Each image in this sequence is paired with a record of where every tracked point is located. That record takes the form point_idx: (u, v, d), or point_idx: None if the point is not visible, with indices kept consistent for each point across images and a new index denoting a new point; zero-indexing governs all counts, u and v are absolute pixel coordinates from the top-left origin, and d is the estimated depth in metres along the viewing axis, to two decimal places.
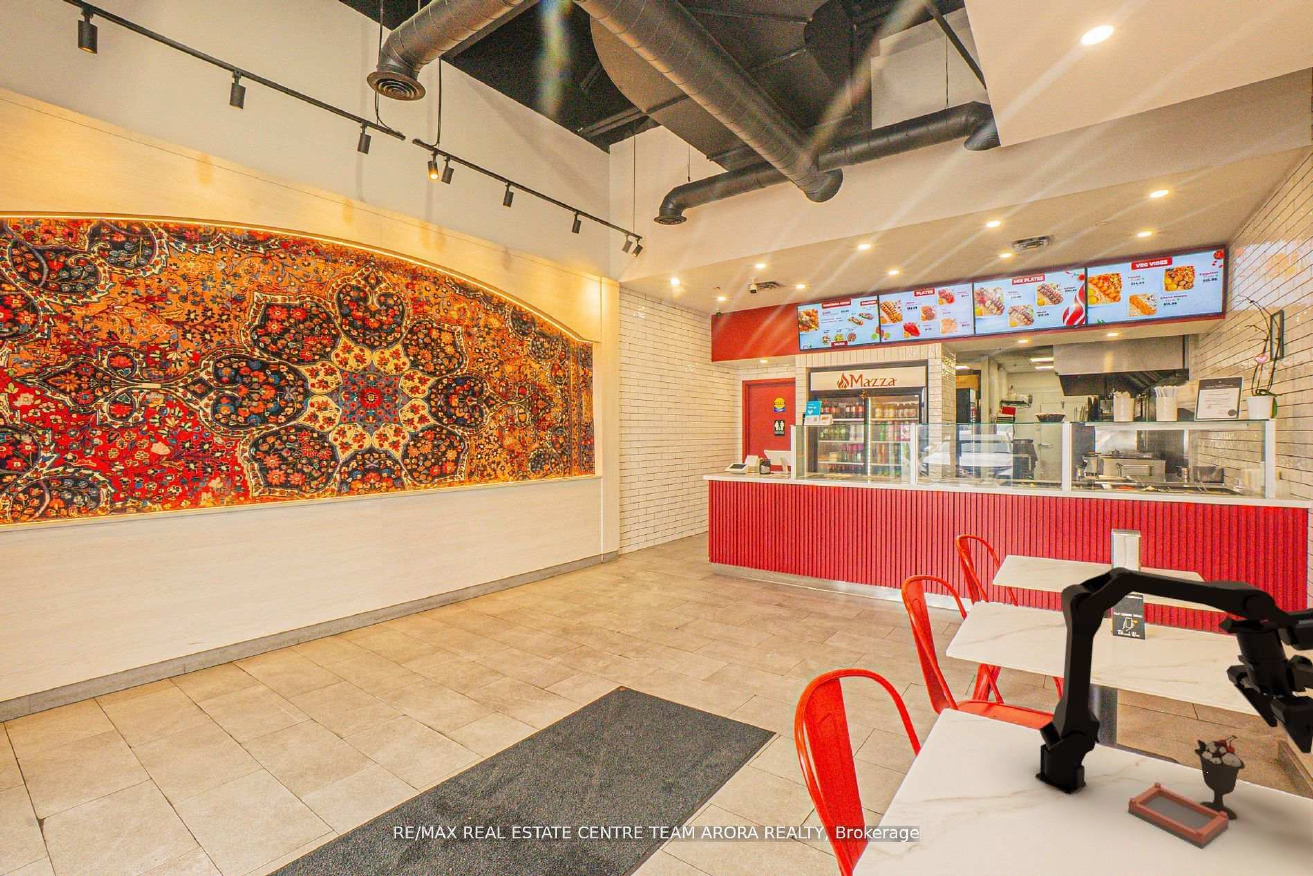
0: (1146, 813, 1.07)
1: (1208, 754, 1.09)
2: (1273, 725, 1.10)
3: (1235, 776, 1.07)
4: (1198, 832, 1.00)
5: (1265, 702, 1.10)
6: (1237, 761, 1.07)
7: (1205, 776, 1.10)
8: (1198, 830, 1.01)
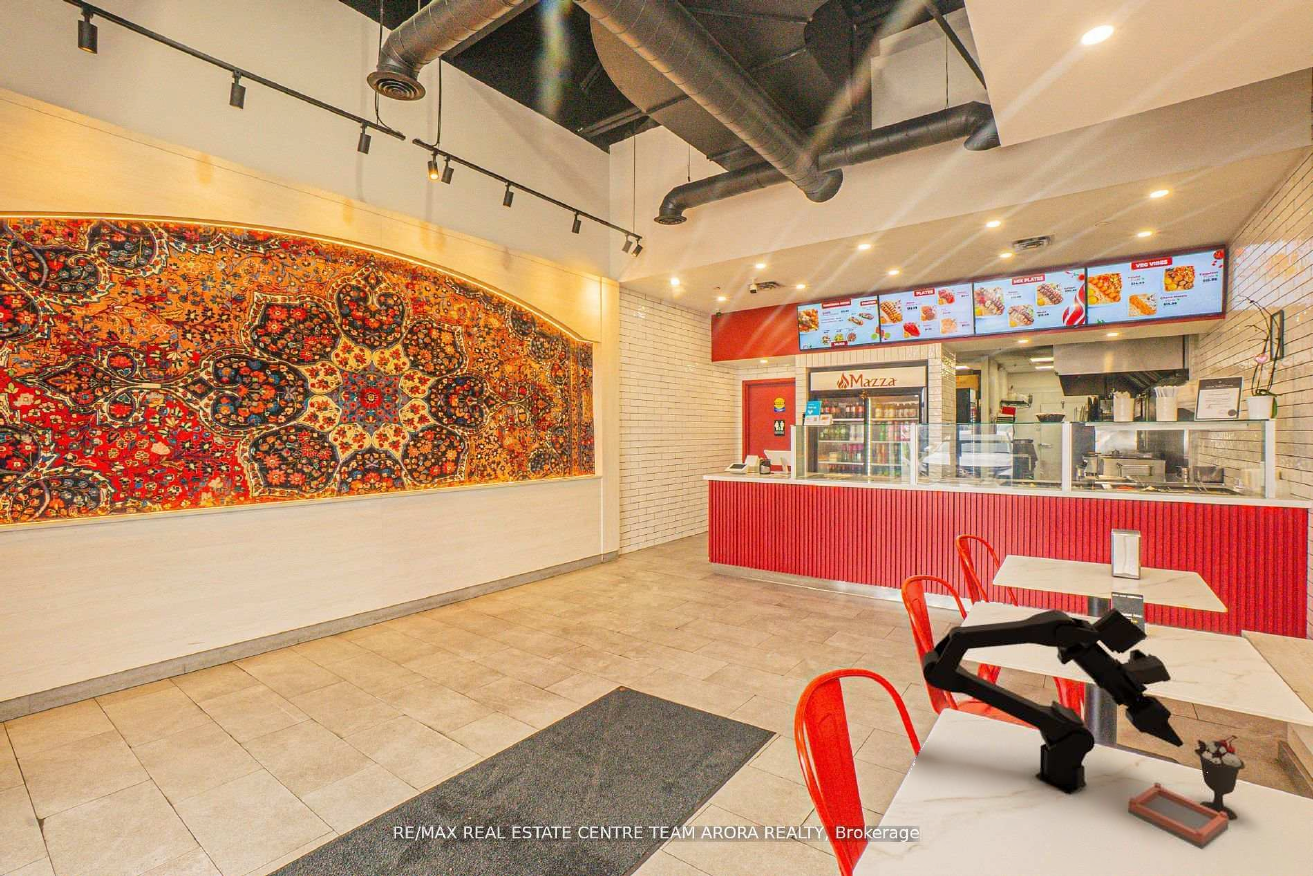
0: (1146, 813, 1.07)
1: (1208, 754, 1.09)
2: None
3: (1235, 776, 1.07)
4: (1198, 832, 1.00)
5: None
6: (1237, 761, 1.07)
7: (1205, 776, 1.10)
8: (1198, 830, 1.01)
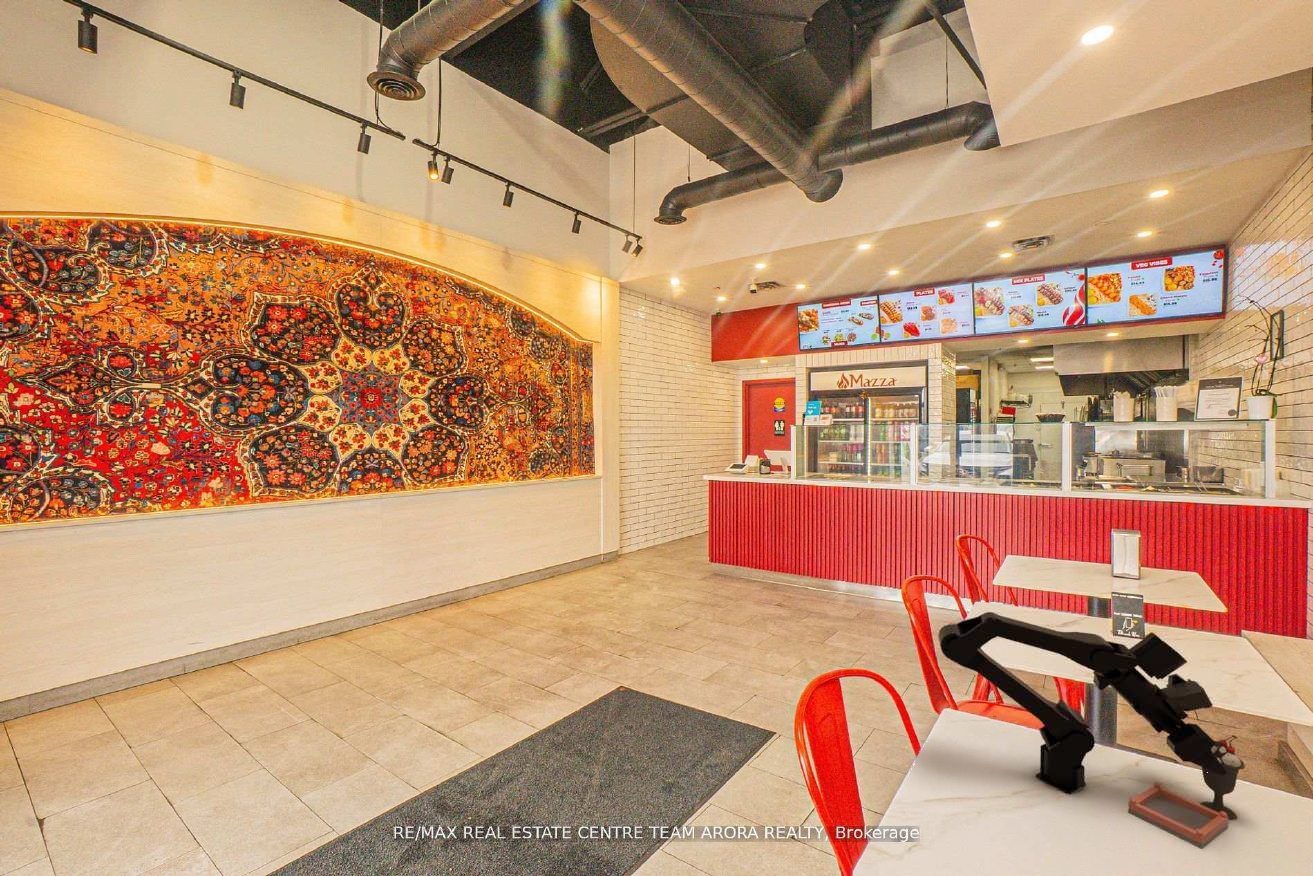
0: (1146, 813, 1.07)
1: None
2: None
3: (1235, 776, 1.07)
4: (1198, 832, 1.00)
5: None
6: (1237, 761, 1.07)
7: (1205, 776, 1.10)
8: (1198, 830, 1.01)
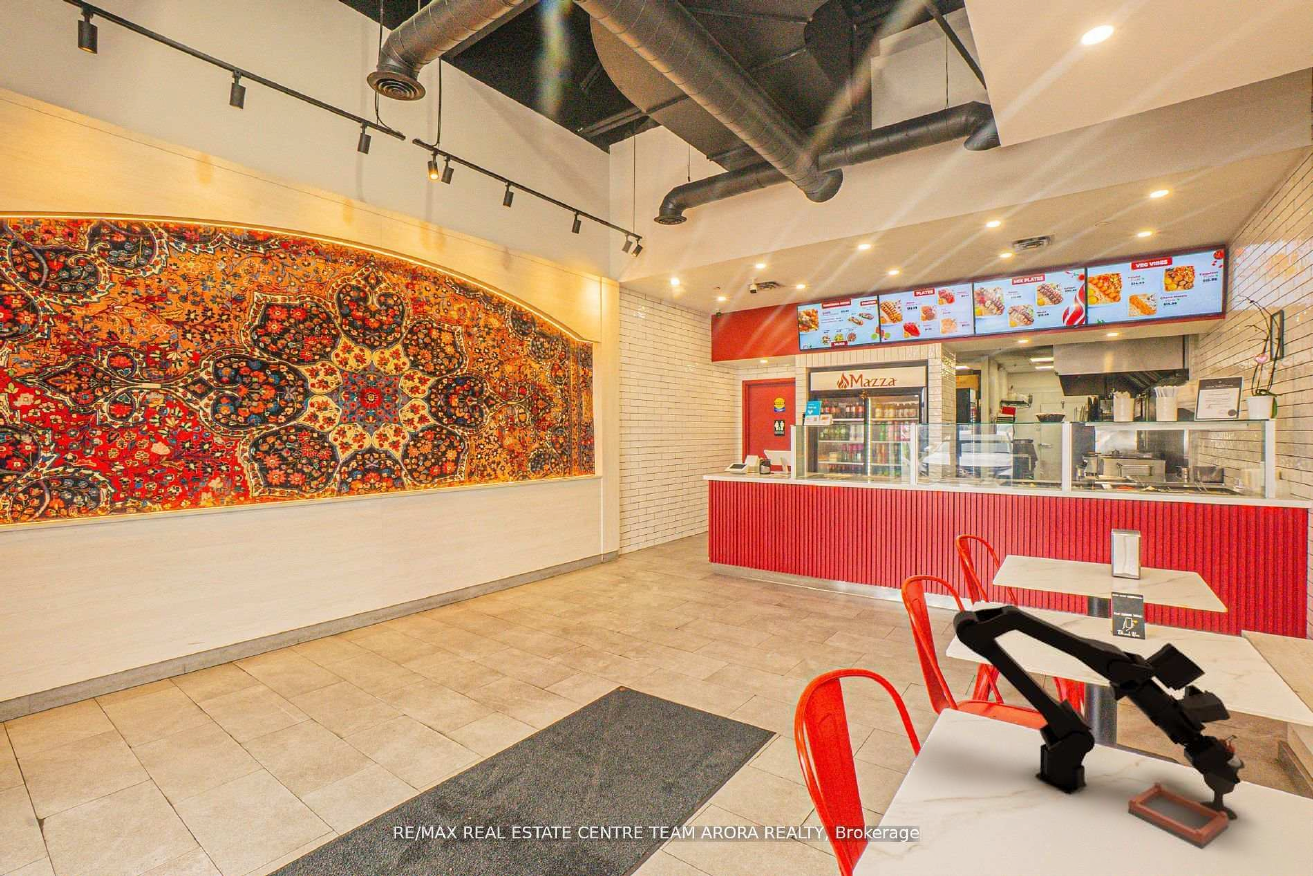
0: (1146, 813, 1.07)
1: None
2: None
3: None
4: (1198, 832, 1.00)
5: None
6: (1237, 761, 1.07)
7: (1205, 776, 1.10)
8: (1198, 830, 1.01)
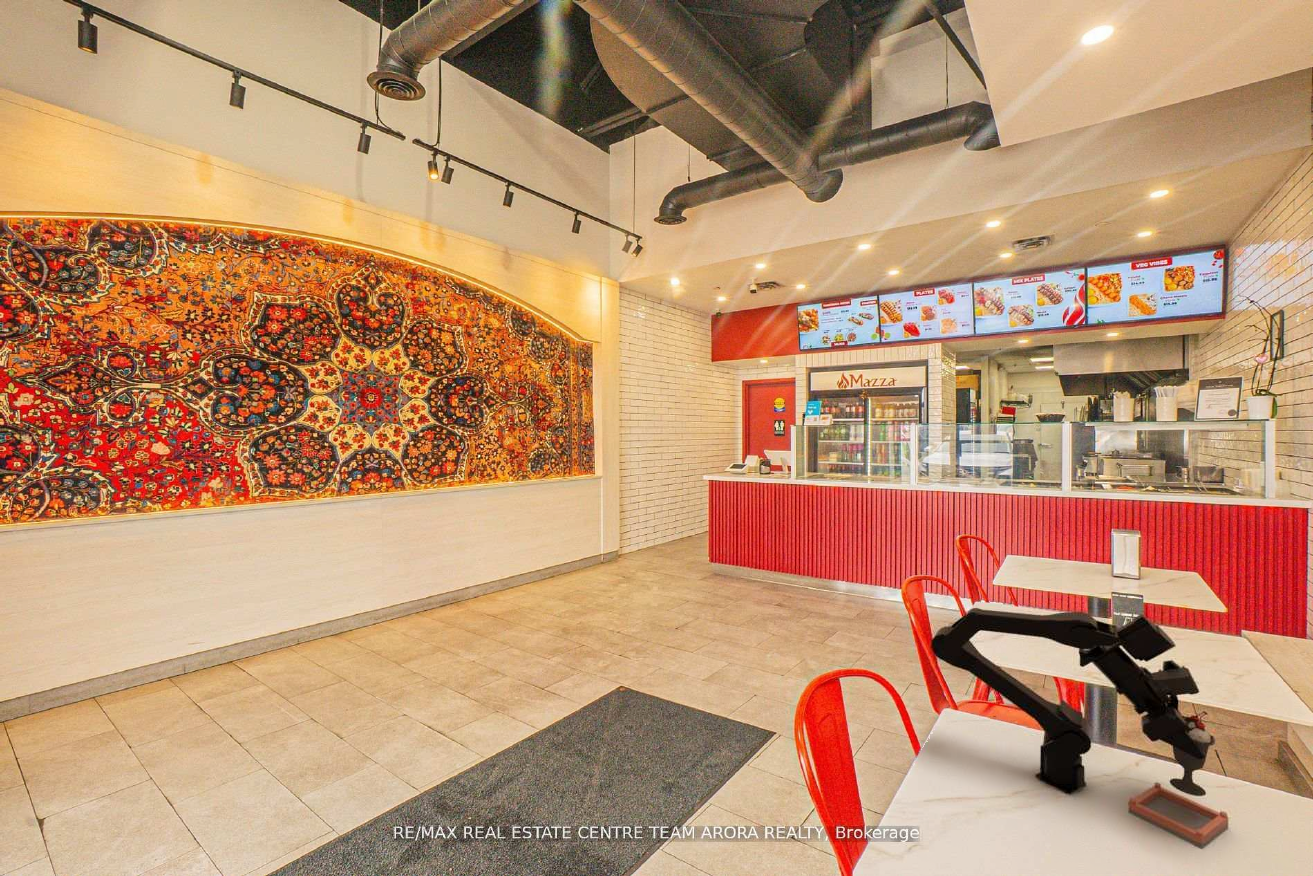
0: (1146, 813, 1.07)
1: None
2: None
3: (1203, 752, 1.05)
4: (1198, 832, 1.00)
5: None
6: (1205, 737, 1.04)
7: (1173, 750, 1.08)
8: (1198, 830, 1.01)
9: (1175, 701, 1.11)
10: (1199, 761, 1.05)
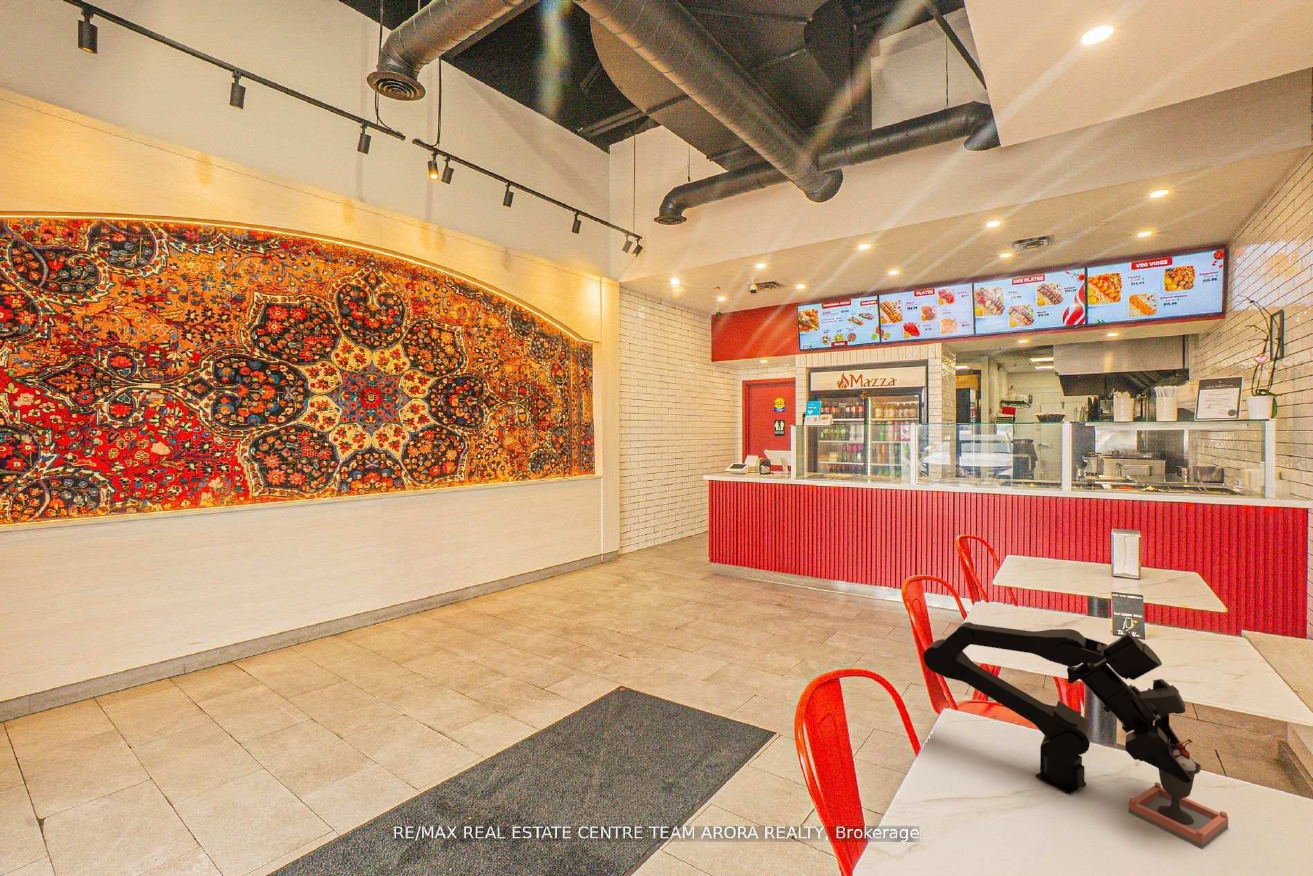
0: (1146, 813, 1.07)
1: None
2: None
3: None
4: (1198, 832, 1.00)
5: None
6: (1189, 765, 1.04)
7: (1160, 778, 1.08)
8: (1198, 830, 1.01)
9: (1166, 717, 1.12)
10: (1184, 789, 1.05)
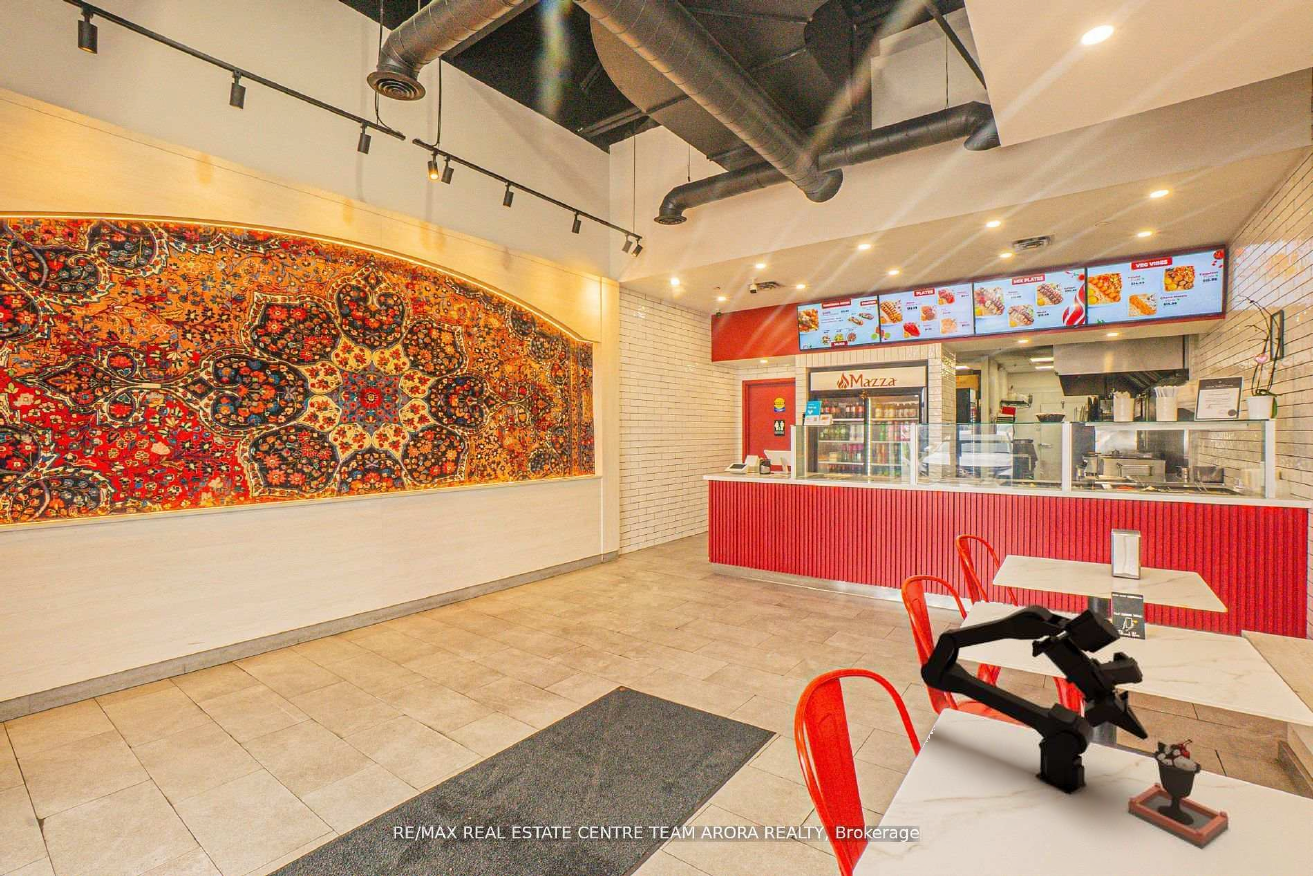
0: (1146, 813, 1.07)
1: (1162, 755, 1.07)
2: None
3: (1188, 780, 1.04)
4: (1198, 832, 1.00)
5: None
6: (1189, 765, 1.04)
7: (1160, 777, 1.08)
8: (1198, 830, 1.01)
9: (1125, 697, 1.12)
10: (1185, 789, 1.05)
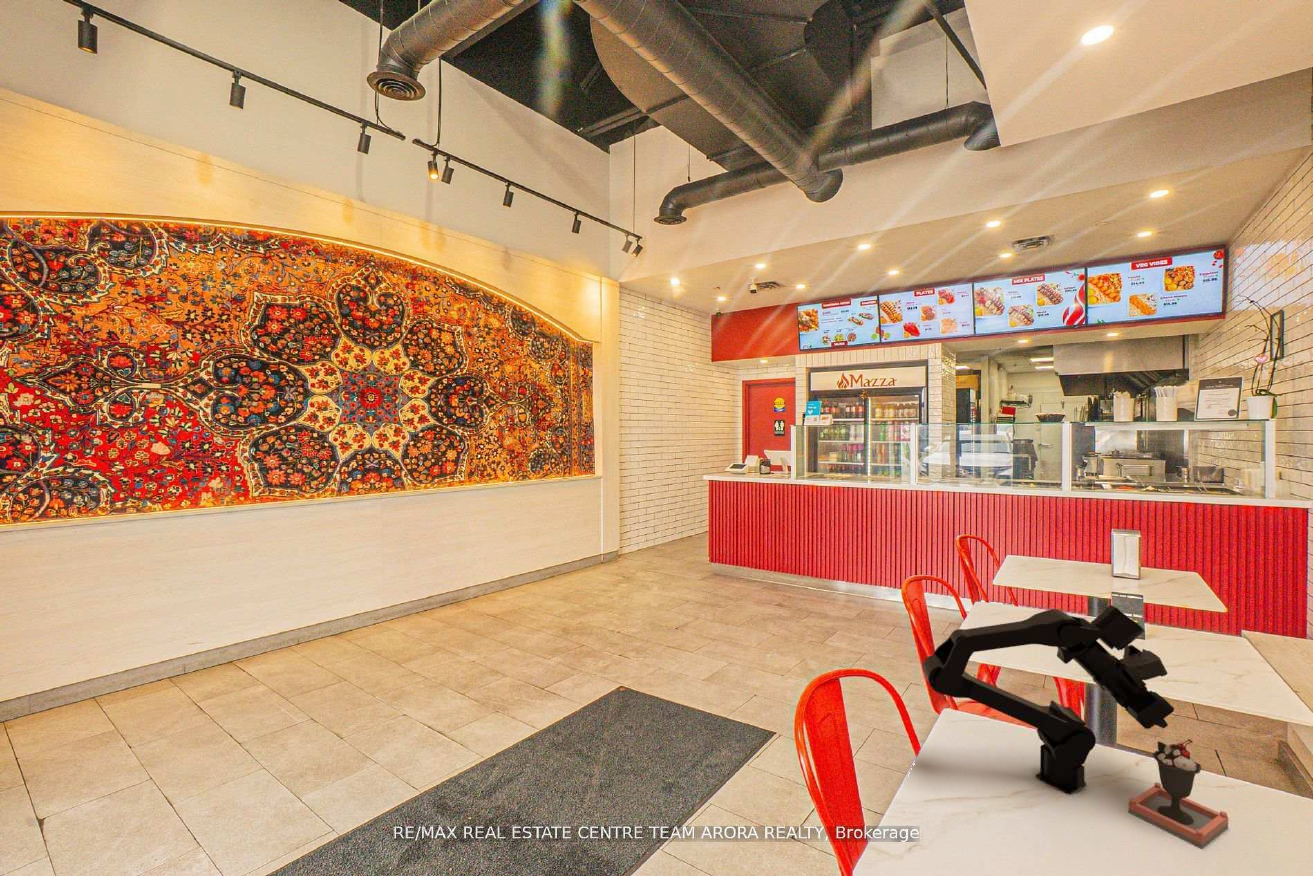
0: (1146, 813, 1.07)
1: (1162, 755, 1.07)
2: None
3: (1188, 780, 1.04)
4: (1198, 832, 1.00)
5: None
6: (1189, 765, 1.04)
7: (1160, 777, 1.08)
8: (1198, 830, 1.01)
9: None
10: (1185, 789, 1.05)
